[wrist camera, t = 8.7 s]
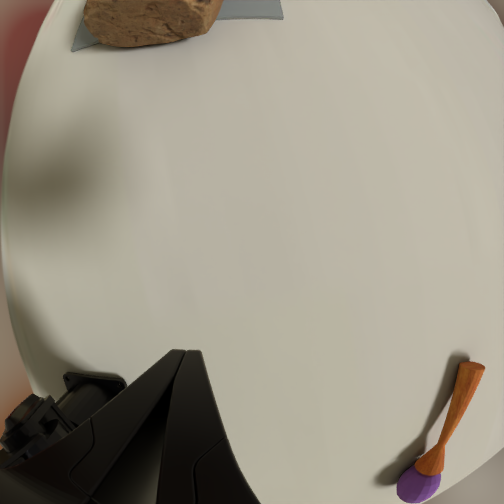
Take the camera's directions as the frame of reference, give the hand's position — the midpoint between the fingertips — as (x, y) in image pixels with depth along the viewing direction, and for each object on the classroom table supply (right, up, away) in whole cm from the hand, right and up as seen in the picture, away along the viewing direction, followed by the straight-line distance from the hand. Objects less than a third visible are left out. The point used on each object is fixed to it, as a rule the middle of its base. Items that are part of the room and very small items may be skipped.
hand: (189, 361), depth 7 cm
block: (-6, +19, +6) cm, 21 cm away
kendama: (+23, -18, +15) cm, 33 cm away
